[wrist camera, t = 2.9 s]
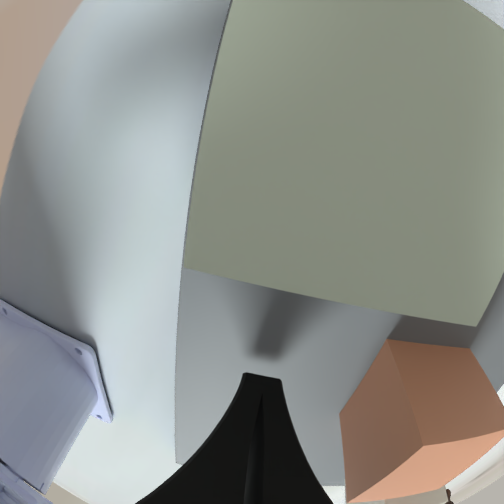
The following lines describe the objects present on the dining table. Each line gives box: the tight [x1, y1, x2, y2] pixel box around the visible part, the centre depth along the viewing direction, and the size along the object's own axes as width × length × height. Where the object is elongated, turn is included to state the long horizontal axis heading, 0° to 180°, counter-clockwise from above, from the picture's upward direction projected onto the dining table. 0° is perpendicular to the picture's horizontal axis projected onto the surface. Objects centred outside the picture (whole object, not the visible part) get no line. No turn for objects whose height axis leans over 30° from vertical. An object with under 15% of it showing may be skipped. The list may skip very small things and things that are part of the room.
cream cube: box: [344, 479, 448, 504], centre depth 12 cm, size 5×5×5 cm
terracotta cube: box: [339, 339, 504, 503], centre depth 8 cm, size 5×5×5 cm
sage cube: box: [183, 0, 504, 327], centre depth 5 cm, size 5×5×5 cm
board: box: [175, 0, 504, 486], centre depth 11 cm, size 19×26×1 cm
